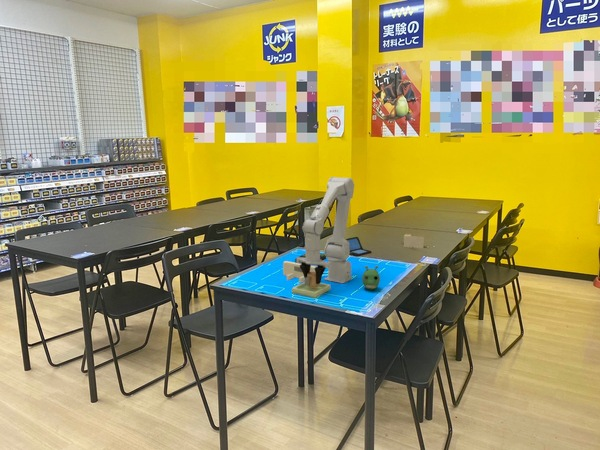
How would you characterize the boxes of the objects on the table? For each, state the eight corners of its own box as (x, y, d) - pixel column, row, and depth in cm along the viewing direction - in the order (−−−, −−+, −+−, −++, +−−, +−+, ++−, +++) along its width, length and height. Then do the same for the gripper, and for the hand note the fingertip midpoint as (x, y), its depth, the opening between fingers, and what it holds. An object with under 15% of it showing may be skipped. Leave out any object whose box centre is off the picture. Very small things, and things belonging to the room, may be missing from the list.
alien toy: (361, 292, 179) (362, 268, 177) (362, 285, 186) (362, 262, 185) (379, 293, 178) (380, 268, 176) (379, 286, 185) (380, 263, 183)
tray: (330, 289, 182) (330, 284, 182) (315, 298, 172) (315, 293, 172) (307, 284, 188) (307, 280, 188) (292, 293, 178) (292, 288, 178)
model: (404, 246, 255) (404, 233, 253) (423, 247, 252) (424, 234, 250) (403, 247, 252) (404, 234, 250) (423, 249, 249) (424, 235, 247)
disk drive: (313, 266, 216) (326, 259, 229) (313, 261, 216) (326, 253, 229) (294, 263, 221) (308, 256, 234) (294, 258, 221) (308, 251, 233)
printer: (320, 280, 193) (320, 267, 192) (311, 285, 188) (311, 271, 186) (285, 273, 203) (285, 261, 202) (276, 277, 197) (276, 264, 196)
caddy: (321, 284, 181) (321, 273, 180) (311, 289, 176) (312, 277, 175) (311, 282, 184) (311, 271, 183) (301, 287, 178) (301, 275, 177)
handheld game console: (356, 257, 231) (356, 243, 230) (341, 253, 239) (341, 239, 238) (372, 253, 239) (372, 239, 238) (357, 249, 247) (357, 236, 246)
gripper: (292, 249, 178) (292, 281, 181) (323, 254, 170) (323, 288, 173) (301, 245, 184) (301, 277, 187) (332, 250, 176) (332, 283, 179)
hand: (312, 282), depth 180 cm, fingers closed on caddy, 5 cm apart
